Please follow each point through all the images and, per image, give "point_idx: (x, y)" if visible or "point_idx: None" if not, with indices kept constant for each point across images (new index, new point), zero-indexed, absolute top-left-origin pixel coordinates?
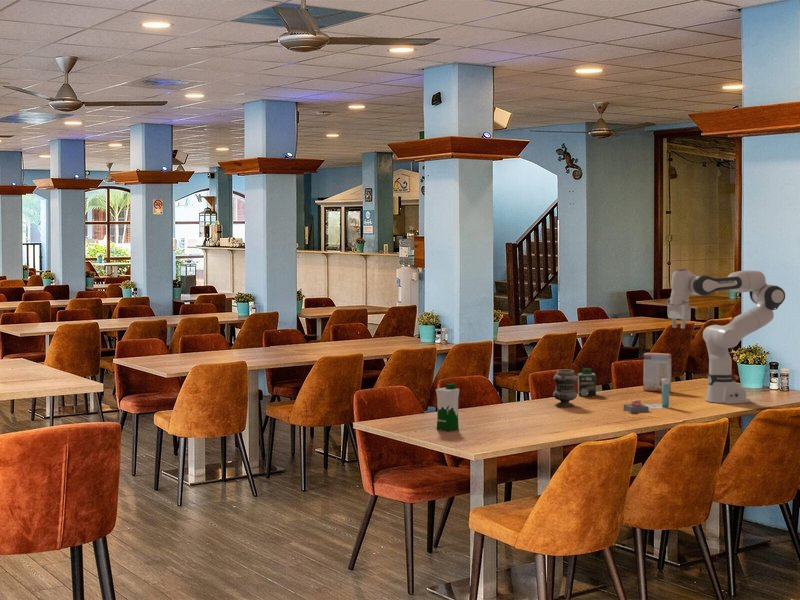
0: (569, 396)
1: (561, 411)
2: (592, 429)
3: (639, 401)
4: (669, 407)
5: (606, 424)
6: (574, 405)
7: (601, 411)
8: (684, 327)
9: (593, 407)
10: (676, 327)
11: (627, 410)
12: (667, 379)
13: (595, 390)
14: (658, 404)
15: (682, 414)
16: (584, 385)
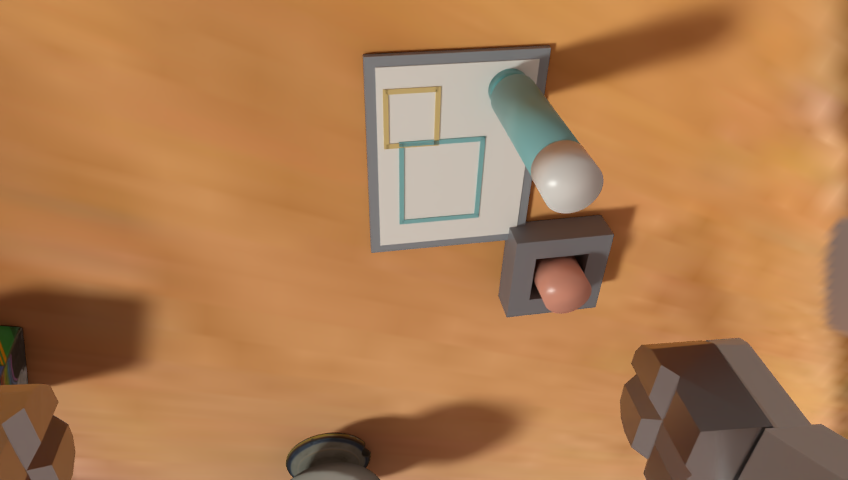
0: None
1: (451, 473)
2: None
3: (590, 285)
4: (526, 67)
5: None
6: (345, 436)
7: (493, 371)
8: (750, 361)
9: (388, 382)
10: (46, 389)
11: None
12: (597, 183)
13: (10, 356)
14: (405, 93)
15: (713, 65)
16: None
